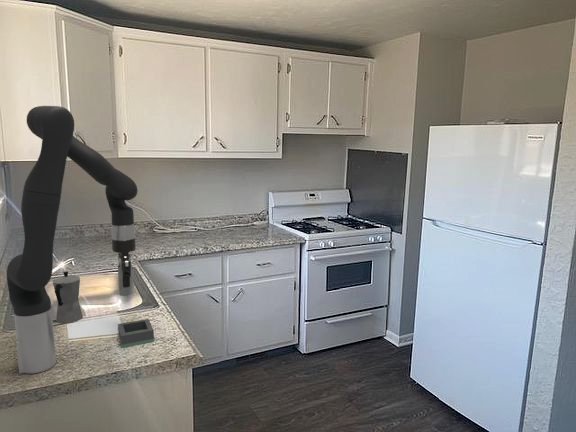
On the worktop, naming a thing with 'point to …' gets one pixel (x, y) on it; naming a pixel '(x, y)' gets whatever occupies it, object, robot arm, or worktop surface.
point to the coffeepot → (67, 298)
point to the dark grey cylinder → (122, 290)
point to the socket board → (135, 333)
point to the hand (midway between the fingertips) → (125, 284)
